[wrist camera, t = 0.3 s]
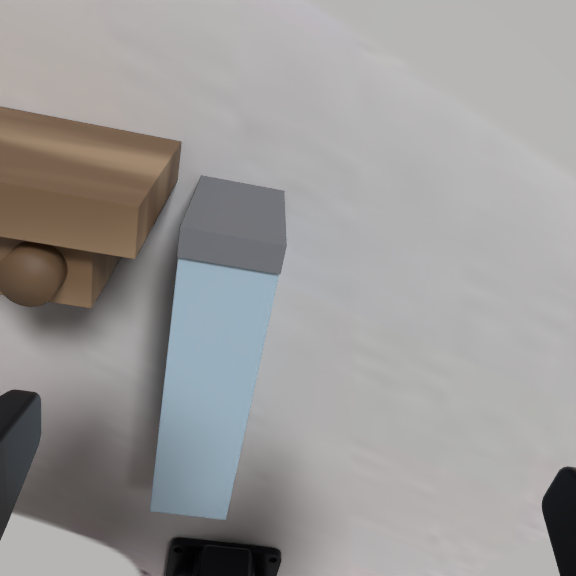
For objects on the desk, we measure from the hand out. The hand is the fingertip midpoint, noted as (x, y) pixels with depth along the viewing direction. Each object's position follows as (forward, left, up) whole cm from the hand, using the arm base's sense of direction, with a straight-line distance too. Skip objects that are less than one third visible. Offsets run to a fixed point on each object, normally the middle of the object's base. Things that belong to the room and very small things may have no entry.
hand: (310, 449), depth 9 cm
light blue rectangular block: (-7, +2, -13) cm, 15 cm away
